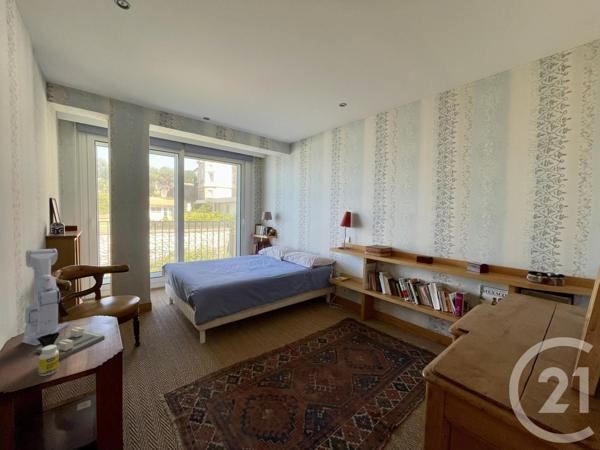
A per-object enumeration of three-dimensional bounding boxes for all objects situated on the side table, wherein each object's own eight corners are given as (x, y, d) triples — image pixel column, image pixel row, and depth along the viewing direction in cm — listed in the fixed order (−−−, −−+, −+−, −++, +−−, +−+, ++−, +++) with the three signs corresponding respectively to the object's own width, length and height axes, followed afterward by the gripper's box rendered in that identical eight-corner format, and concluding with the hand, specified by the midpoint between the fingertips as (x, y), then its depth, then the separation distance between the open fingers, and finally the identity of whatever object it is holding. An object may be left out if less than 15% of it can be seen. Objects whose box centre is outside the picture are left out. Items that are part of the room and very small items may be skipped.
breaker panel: (36, 352, 107) (36, 348, 107) (81, 333, 125) (81, 330, 124) (61, 359, 103) (61, 355, 103) (104, 338, 121) (104, 335, 121)
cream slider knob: (70, 335, 118) (70, 328, 118) (77, 332, 121) (77, 326, 121) (76, 337, 117) (76, 330, 117) (83, 334, 120) (83, 327, 120)
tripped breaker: (58, 349, 107) (58, 341, 107) (66, 345, 110) (66, 338, 110) (65, 350, 106) (65, 343, 106) (73, 347, 109) (73, 339, 109)
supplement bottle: (45, 377, 92) (46, 352, 92) (34, 374, 93) (35, 349, 93) (62, 368, 98) (62, 344, 97) (51, 366, 99) (52, 342, 98)
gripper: (31, 328, 93) (31, 363, 94) (75, 314, 107) (74, 344, 108) (19, 325, 95) (19, 359, 95) (63, 311, 109) (63, 341, 109)
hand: (47, 351), depth 102 cm, fingers closed
